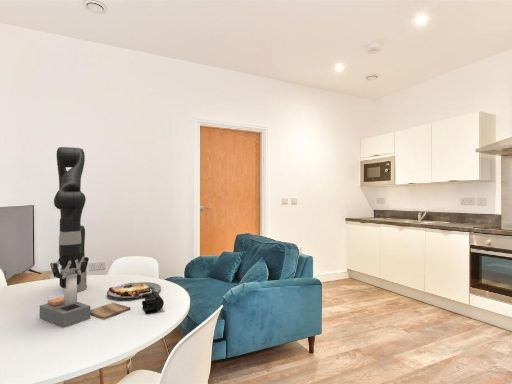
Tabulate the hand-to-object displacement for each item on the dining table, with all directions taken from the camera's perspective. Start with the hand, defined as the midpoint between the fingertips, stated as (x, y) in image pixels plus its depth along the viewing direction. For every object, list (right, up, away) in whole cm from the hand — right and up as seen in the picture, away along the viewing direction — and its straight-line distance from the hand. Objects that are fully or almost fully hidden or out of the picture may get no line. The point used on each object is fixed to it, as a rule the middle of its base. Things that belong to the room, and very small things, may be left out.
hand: (70, 285), depth 122 cm
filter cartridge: (0, -6, 0) cm, 6 cm away
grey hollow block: (-3, -13, +2) cm, 14 cm away
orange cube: (-8, -12, +4) cm, 15 cm away
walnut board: (+11, -13, +8) cm, 19 cm away
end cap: (+29, -14, +11) cm, 34 cm away
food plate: (+12, -14, +33) cm, 38 cm away
